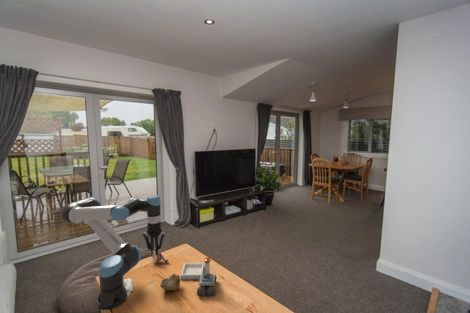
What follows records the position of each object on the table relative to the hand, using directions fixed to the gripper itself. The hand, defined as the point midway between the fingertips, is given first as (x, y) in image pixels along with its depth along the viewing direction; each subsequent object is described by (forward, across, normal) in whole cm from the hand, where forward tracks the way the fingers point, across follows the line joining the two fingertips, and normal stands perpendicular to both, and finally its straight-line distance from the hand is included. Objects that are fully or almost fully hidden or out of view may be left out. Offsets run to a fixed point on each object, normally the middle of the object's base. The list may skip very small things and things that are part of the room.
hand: (154, 259), depth 134 cm
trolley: (+19, +31, 0) cm, 37 cm away
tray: (+19, +20, +16) cm, 32 cm away
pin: (+12, +31, 0) cm, 34 cm away
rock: (+19, +9, 0) cm, 21 cm away
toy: (+19, -7, +30) cm, 36 cm away
